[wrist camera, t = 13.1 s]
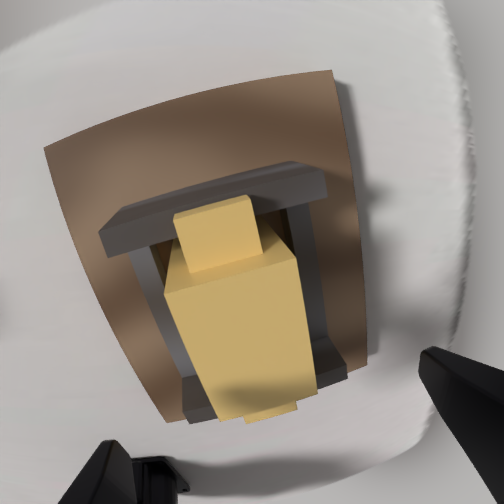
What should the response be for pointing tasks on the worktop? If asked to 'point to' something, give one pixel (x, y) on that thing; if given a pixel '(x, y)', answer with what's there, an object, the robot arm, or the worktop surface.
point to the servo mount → (207, 192)
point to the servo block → (240, 311)
